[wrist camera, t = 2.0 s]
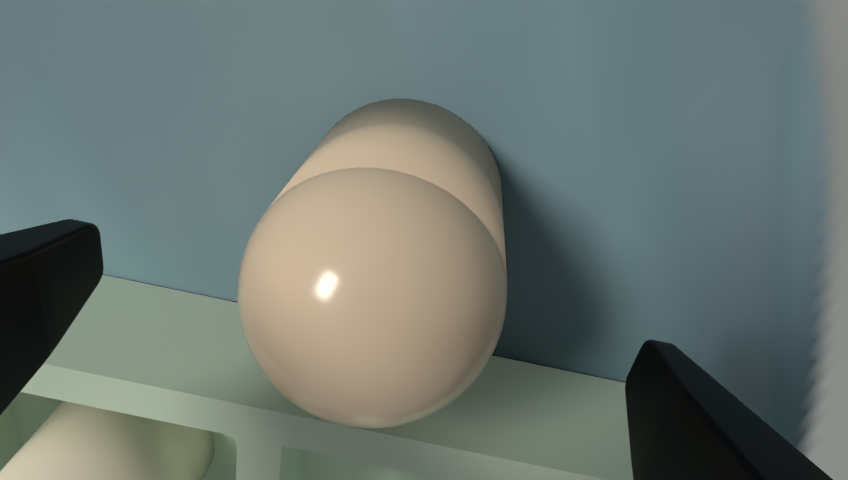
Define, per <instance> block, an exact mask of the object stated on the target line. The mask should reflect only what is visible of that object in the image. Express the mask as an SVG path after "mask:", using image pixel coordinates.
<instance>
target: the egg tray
mask: <svg viewBox="0 0 848 480" xmlns="http://www.w3.org/2000/svg"><path fill="white" fill-rule="evenodd" d="M625 384H626V383H623V382H618V381H614V380H609V379H604V378H599V377H594V376H589V375H585V374H580V373H575V372H570V371H565V370H560V369H556V368H551V367H546V366H541V365H536V364H531V363H527V362H522V361H517V360H512V359H507V358H502V357H498V356H493V355H492V356H491V357H490V359H489V361H488V362H487V364H486V366H485V367H484V369H483V371H482V372H481V373H480V375H479V376H478V377H477V378H476V379H475V381H474V382H473V383H472V384H471V385H470V386H469V387H468V388H467V389H466V390H465V391H464V392H463V393H462V394H461V395H460V396H459V397H458V398H456V399H455V400H454V401H452V402H451V403H449V404H448V405H446V406H445V407H443V408H442V409H440V410H439V411H437V412H435V413H433V414H431V415H429V416H427V417H424V418H422V419H419V420H416V421H413V422H410V423H407V424H403V425H398V426H394V427H386V428H357V427H350V426H344V425H340V424H336V423H333V422H330V421H327V420H324V419H321V418H319V417H317V416H314V415H312V414H310V413H308V412H306V411H305V410H303V409H301V408H300V407H298V406H296V405H295V404H294V403H292V402H291V401H290V400H288V399H287V398H286V397H285V396H284V395H282V394H281V393H280V392H279V391H278V390H277V389H276V388H275V387H274V385H273V384H272V383H271V382H270V381H269V380H268V379H267V377H266V376H265V375H264V374H263V372H262V371H261V369H260V368H259V367H258V365H257V363H256V361H255V360H254V358H253V356H252V354H251V352H250V349H249V347H248V345H247V342H246V340H245V337H244V334H243V331H242V326H241V321H240V316H239V310H238V303H237V302H232V301H227V300H222V299H217V298H212V297H208V296H203V295H198V294H193V293H188V292H184V291H179V290H174V289H169V288H164V287H159V286H155V285H150V284H145V283H140V282H135V281H130V280H126V279H121V278H116V277H111V276H106V275H102V278H101V280H100V282H99V284H98V285H97V287H96V288H95V290H94V291H93V293H92V294H91V296H90V297H89V299H88V300H87V302H86V303H85V305H84V306H83V308H82V309H81V311H80V312H79V314H78V315H77V317H76V318H75V320H74V321H73V323H72V324H71V326H70V327H69V329H68V330H67V332H66V333H65V335H64V336H63V338H62V339H61V341H60V342H59V344H58V345H57V347H56V348H55V349H54V351H53V352H52V354H51V355H50V356H49V357H48V359H47V360H46V361H45V363H44V364H43V365H42V366H41V368H40V369H39V370H38V371H37V372H36V374H35V375H34V376H33V377H32V378H31V380H30V381H29V382H28V383H27V384H26V386H25V387H24V388H23V389H22V390H21V392H20V393H19V394H18V395H17V396H16V397H15V399H14V400H13V401H12V402H11V403H10V405H9V406H8V407H7V408H6V409H5V411H4V412H3V413H2V414H1V415H0V471H1V470H2V469H3V468H4V467H5V465H6V464H7V463H8V462H9V461H10V460H11V459H12V458H13V457H14V455H15V454H16V453H17V452H18V451H19V450H20V449H21V448H22V446H23V445H24V444H25V443H26V442H27V441H28V440H29V439H30V438H31V436H32V435H33V434H34V433H35V432H36V431H37V430H38V429H39V428H40V426H41V425H42V424H43V423H44V422H45V421H46V420H47V419H48V418H49V416H50V415H51V414H52V413H53V412H54V411H55V410H56V409H57V408H58V406H59V405H60V404H61V403H62V402H63V401H67V402H72V403H76V404H81V405H86V406H91V407H96V408H101V409H106V410H110V411H115V412H120V413H125V414H130V415H135V416H139V417H144V418H149V419H154V420H159V421H164V422H169V423H173V424H178V425H183V426H188V427H193V428H198V429H203V430H207V431H211V433H212V435H213V439H214V445H215V452H214V457H213V461H212V463H211V465H210V467H209V469H208V471H207V473H206V474H205V476H204V478H203V480H634V479H633V473H632V464H631V454H630V442H629V431H628V420H627V408H626V397H625Z"/></svg>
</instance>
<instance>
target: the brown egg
mask: <svg viewBox="0 0 848 480" xmlns="http://www.w3.org/2000/svg"><path fill="white" fill-rule="evenodd" d="M507 289H508V288H507V271H506V254H505V237H504V221H503V204H502V188H501V178H500V174H499V170H498V166H497V164H496V161H495V159H494V156H493V154H492V152H491V151H490V149H489V147H488V145H487V144H486V143H485V141H484V140H483V139H482V137H481V136H480V135H479V134H478V133H477V131H476V130H475V129H474V128H473V127H472V126H471V125H469V124H468V123H467V122H466V121H464V120H463V119H462V118H460V117H459V116H457V115H456V114H454V113H452V112H450V111H449V110H447V109H444V108H442V107H440V106H437V105H435V104H431V103H428V102H424V101H419V100H412V99H390V100H382V101H378V102H374V103H370V104H367V105H365V106H363V107H360V108H358V109H356V110H354V111H352V112H351V113H349V114H347V115H346V116H345V117H343V118H342V119H341V120H340V121H338V122H337V123H336V124H335V125H334V126H333V127H332V128H331V129H330V131H329V132H328V133H327V134H326V135H325V137H324V138H323V139H322V140H321V142H320V143H319V144H318V145H317V147H316V148H315V149H314V151H313V152H312V153H311V154H310V156H309V157H308V158H307V159H306V161H305V162H304V163H303V165H302V166H301V167H300V168H299V170H298V171H297V172H296V173H295V175H294V176H293V177H292V179H291V180H290V181H289V182H288V184H287V185H286V186H285V187H284V189H283V190H282V191H281V193H280V194H279V195H278V196H277V198H276V199H275V200H274V201H273V203H272V204H271V205H270V207H269V208H268V209H267V210H266V212H265V213H264V215H263V216H262V218H261V219H260V221H259V222H258V224H257V226H256V227H255V229H254V231H253V233H252V235H251V237H250V239H249V241H248V243H247V246H246V249H245V252H244V256H243V259H242V263H241V266H240V272H239V281H238V293H237V295H238V310H239V316H240V321H241V326H242V331H243V334H244V337H245V340H246V342H247V345H248V347H249V349H250V352H251V354H252V356H253V358H254V360H255V361H256V363H257V365H258V367H259V368H260V369H261V371H262V372H263V374H264V375H265V376H266V377H267V379H268V380H269V381H270V382H271V383H272V384H273V385H274V387H275V388H276V389H277V390H278V391H279V392H280V393H281V394H282V395H284V396H285V397H286V398H287V399H288V400H290V401H291V402H292V403H294V404H295V405H296V406H298V407H300V408H301V409H303V410H305V411H306V412H308V413H310V414H312V415H314V416H317V417H319V418H321V419H324V420H327V421H330V422H333V423H336V424H340V425H344V426H350V427H357V428H386V427H394V426H398V425H403V424H407V423H410V422H413V421H416V420H419V419H422V418H424V417H427V416H429V415H431V414H433V413H435V412H437V411H439V410H440V409H442V408H443V407H445V406H446V405H448V404H449V403H451V402H452V401H454V400H455V399H456V398H458V397H459V396H460V395H461V394H462V393H463V392H464V391H465V390H466V389H467V388H468V387H469V386H470V385H471V384H472V383H473V382H474V381H475V379H476V378H477V377H478V376H479V375H480V373H481V372H482V371H483V369H484V367H485V366H486V364H487V362H488V361H489V359H490V357H491V356H492V354H493V352H494V350H495V348H496V345H497V343H498V340H499V338H500V335H501V331H502V328H503V324H504V320H505V315H506V305H507Z"/></svg>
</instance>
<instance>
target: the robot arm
mask: <svg viewBox="0 0 848 480" xmlns="http://www.w3.org/2000/svg"><path fill="white" fill-rule="evenodd" d="M102 274H103V258H102V248H101V239H100V232H99V229H98V228H97V226H95V225H94V224H92V223H88V222H83V221H78V220H73V219H67V220H62V221H58V222H53V223H49V224H45V225H40V226H36V227H32V228H27V229H23V230H18V231H14V232H10V233H5V234H1V235H0V415H1V414H2V413H3V412H4V411H5V409H6V408H7V407H8V406H9V405H10V403H11V402H12V401H13V400H14V399H15V397H16V396H17V395H18V394H19V393H20V392H21V390H22V389H23V388H24V387H25V386H26V384H27V383H28V382H29V381H30V380H31V378H32V377H33V376H34V375H35V374H36V372H37V371H38V370H39V369H40V368H41V366H42V365H43V364H44V363H45V361H46V360H47V359H48V357H49V356H50V355H51V354H52V352H53V351H54V349H55V348H56V347H57V345H58V344H59V342H60V341H61V339H62V338H63V336H64V335H65V333H66V332H67V330H68V329H69V327H70V326H71V324H72V323H73V321H74V320H75V318H76V317H77V315H78V314H79V312H80V311H81V309H82V308H83V306H84V305H85V303H86V302H87V300H88V299H89V297H90V296H91V294H92V293H93V291H94V290H95V288H96V287H97V285H98V284H99V282H100V280H101V278H102ZM625 397H626V408H627V420H628V431H629V442H630V454H631V464H632V473H633V479H634V480H833V479H831V478H830V477H829V476H828V475H827V474H826V473H824V472H823V471H822V470H821V469H820V468H818V467H817V466H816V465H815V464H814V463H813V462H811V461H810V460H809V459H808V458H807V457H805V456H804V455H803V454H802V453H801V452H800V451H798V450H797V449H796V448H795V447H794V446H793V445H791V444H790V443H789V442H788V441H787V440H785V439H784V438H783V437H782V436H781V435H780V434H778V433H777V432H776V431H775V430H774V429H772V428H771V427H770V426H769V425H768V424H767V423H765V422H764V421H763V420H762V419H761V418H759V417H758V416H757V415H756V414H755V413H754V412H752V411H751V410H750V409H749V408H748V407H747V406H745V405H744V404H743V403H742V402H741V401H739V400H738V399H737V398H736V397H735V396H734V395H732V394H731V393H730V392H729V391H728V390H727V389H725V388H724V387H723V386H722V385H721V384H719V383H718V382H717V381H716V380H715V379H714V378H712V377H711V376H710V375H709V374H708V373H706V372H705V371H704V370H703V369H702V368H701V367H699V366H698V365H697V364H696V363H695V362H694V361H692V360H691V359H690V358H689V357H688V356H686V355H685V354H684V353H683V352H682V351H681V350H679V349H678V348H677V347H676V346H675V345H673V344H670V343H666V342H661V341H656V340H648V341H645V342H644V344H643V345H642V347H641V349H640V351H639V353H638V355H637V357H636V359H635V361H634V363H633V365H632V368H631V370H630V372H629V374H628V376H627V379H626V384H625Z"/></svg>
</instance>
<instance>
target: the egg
mask: <svg viewBox="0 0 848 480" xmlns="http://www.w3.org/2000/svg"><path fill="white" fill-rule="evenodd" d="M214 452H215V445H214V439H213V435H212V433H211V431H207V430H203V429H198V428H193V427H188V426H183V425H178V424H173V423H169V422H164V421H159V420H154V419H149V418H144V417H139V416H135V415H130V414H125V413H120V412H115V411H110V410H106V409H101V408H96V407H91V406H86V405H81V404H76V403H72V402H67V401H63V402H62V403H61V404H60V405H59V406H58V408H57V409H56V410H55V411H54V412H53V413H52V414H51V415H50V416H49V418H48V419H47V420H46V421H45V422H44V423H43V424H42V425H41V426H40V428H39V429H38V430H37V431H36V432H35V433H34V434H33V435H32V436H31V438H30V439H29V440H28V441H27V442H26V443H25V444H24V445H23V446H22V448H21V449H20V450H19V451H18V452H17V453H16V454H15V455H14V457H13V458H12V459H11V460H10V461H9V462H8V463H7V464H6V465H5V467H4V468H3V469H2V470H1V471H0V480H203V478H204V476H205V474H206V473H207V471H208V469H209V467H210V465H211V463H212V461H213V457H214Z"/></svg>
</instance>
